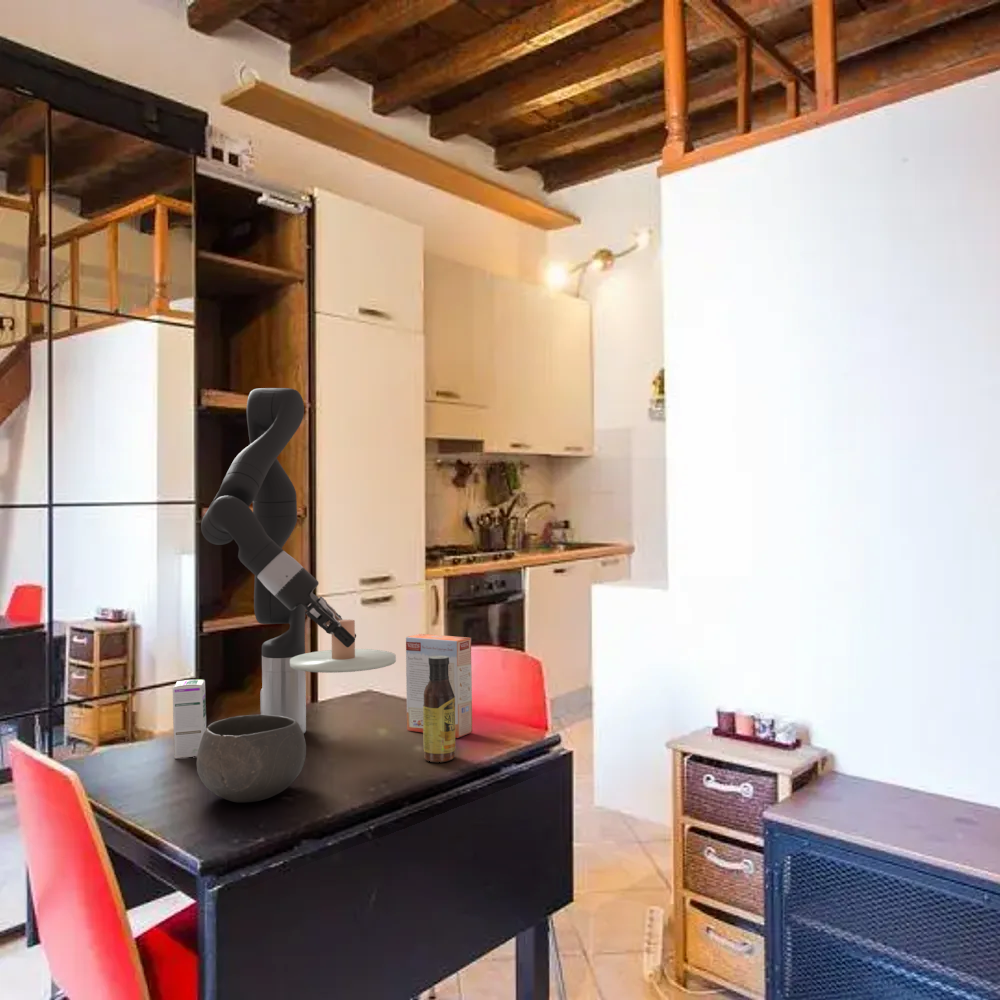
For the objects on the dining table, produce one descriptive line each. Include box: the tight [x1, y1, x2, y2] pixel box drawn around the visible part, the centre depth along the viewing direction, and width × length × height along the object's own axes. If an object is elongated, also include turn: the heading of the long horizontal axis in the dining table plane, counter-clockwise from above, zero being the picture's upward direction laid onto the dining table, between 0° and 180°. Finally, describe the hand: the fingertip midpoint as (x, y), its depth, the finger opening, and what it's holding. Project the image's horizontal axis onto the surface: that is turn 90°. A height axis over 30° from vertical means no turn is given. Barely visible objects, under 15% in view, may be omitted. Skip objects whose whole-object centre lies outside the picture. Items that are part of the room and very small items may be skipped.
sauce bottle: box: [422, 656, 456, 763], centre depth 164 cm, size 7×6×20 cm
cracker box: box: [405, 633, 473, 739], centre depth 183 cm, size 14×6×21 cm, turn 58°
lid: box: [290, 619, 397, 674], centre depth 161 cm, size 20×20×8 cm
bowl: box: [196, 714, 307, 803], centre depth 144 cm, size 18×18×13 cm
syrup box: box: [171, 679, 207, 759], centre depth 169 cm, size 6×6×14 cm
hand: (352, 641), depth 161 cm, fingers closed on lid, 4 cm apart
